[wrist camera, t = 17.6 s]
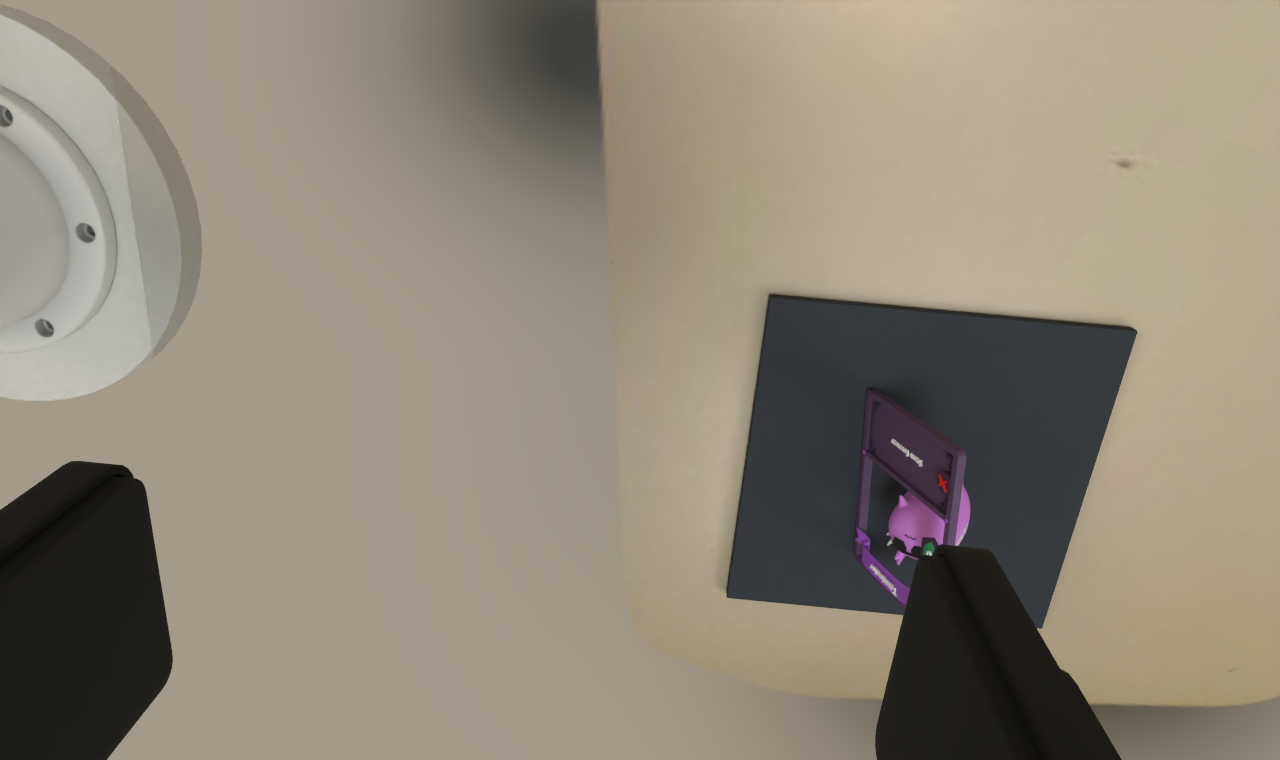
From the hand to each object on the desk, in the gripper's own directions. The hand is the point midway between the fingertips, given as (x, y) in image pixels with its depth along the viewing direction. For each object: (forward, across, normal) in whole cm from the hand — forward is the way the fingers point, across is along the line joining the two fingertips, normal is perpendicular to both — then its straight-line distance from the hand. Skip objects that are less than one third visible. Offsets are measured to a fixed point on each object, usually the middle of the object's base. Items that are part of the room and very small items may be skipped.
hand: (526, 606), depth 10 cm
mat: (+28, -14, +12) cm, 34 cm away
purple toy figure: (+28, -14, +12) cm, 33 cm away
